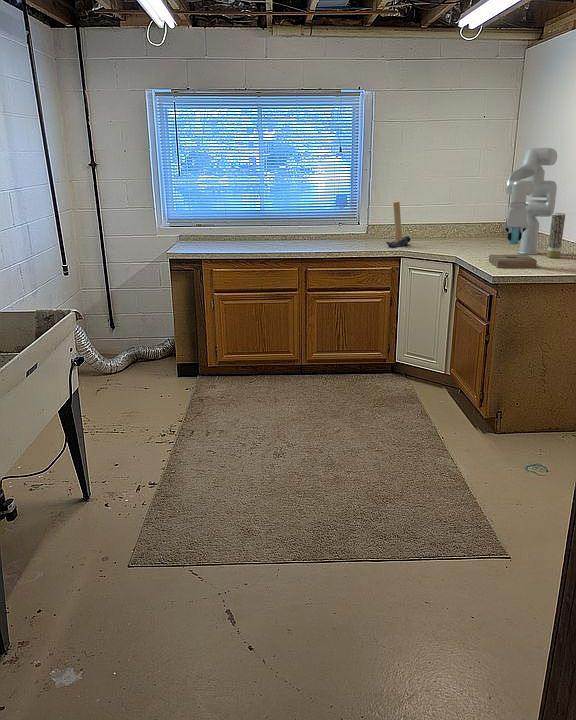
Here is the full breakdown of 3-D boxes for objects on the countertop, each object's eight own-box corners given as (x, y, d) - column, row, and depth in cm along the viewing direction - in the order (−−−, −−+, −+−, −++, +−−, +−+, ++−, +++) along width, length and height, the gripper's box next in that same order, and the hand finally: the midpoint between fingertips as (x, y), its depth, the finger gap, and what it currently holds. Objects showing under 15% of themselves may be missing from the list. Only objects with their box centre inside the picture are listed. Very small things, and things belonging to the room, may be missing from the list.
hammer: (392, 251, 393) (389, 205, 380) (386, 250, 397) (383, 205, 383) (410, 242, 405) (408, 198, 392) (404, 241, 408) (402, 197, 395)
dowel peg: (508, 242, 325) (510, 226, 322) (516, 242, 325) (518, 226, 322) (510, 244, 321) (512, 227, 318) (519, 244, 320) (520, 227, 318)
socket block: (488, 261, 337) (489, 254, 336) (525, 261, 335) (525, 254, 334) (497, 267, 318) (498, 260, 317) (535, 267, 316) (536, 260, 315)
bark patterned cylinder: (560, 258, 343) (566, 214, 335) (548, 258, 344) (554, 214, 336) (558, 256, 349) (563, 213, 341) (545, 256, 350) (551, 213, 342)
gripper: (532, 205, 319) (528, 239, 325) (499, 205, 321) (496, 239, 326) (536, 206, 312) (532, 241, 318) (503, 206, 314) (499, 241, 319)
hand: (514, 240), depth 322 cm, fingers closed on dowel peg, 4 cm apart
